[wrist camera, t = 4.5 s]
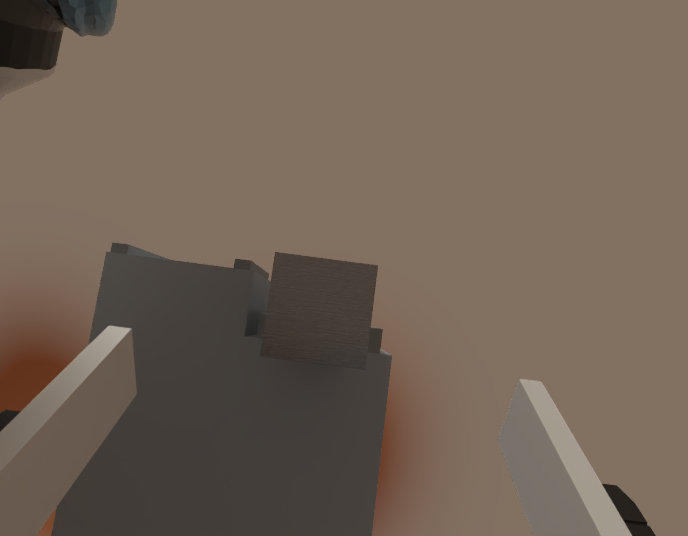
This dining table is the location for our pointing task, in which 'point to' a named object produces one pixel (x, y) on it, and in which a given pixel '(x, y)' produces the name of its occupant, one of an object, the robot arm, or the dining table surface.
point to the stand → (224, 416)
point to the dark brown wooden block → (319, 311)
